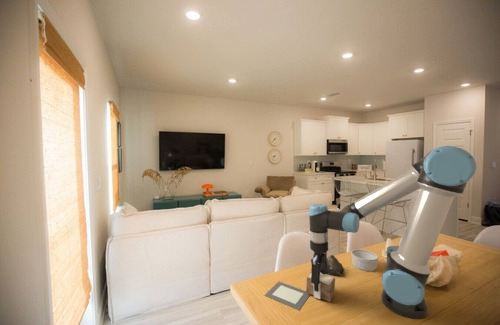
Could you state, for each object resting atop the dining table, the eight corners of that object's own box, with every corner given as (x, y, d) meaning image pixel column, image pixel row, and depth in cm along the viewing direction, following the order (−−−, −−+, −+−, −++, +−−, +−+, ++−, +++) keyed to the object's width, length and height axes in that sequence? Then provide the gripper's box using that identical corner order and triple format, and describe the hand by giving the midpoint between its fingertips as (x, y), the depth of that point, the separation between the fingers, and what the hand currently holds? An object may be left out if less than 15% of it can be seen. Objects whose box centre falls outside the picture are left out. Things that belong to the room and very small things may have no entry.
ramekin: (380, 265, 121) (380, 253, 121) (375, 275, 111) (375, 262, 111) (355, 258, 130) (355, 247, 129) (347, 267, 120) (347, 254, 120)
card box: (334, 293, 95) (335, 277, 95) (329, 302, 90) (330, 285, 89) (311, 284, 101) (312, 269, 101) (306, 292, 95) (306, 276, 95)
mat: (311, 294, 96) (311, 292, 96) (299, 311, 86) (299, 309, 86) (278, 282, 106) (278, 281, 106) (264, 296, 95) (264, 295, 95)
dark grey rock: (347, 278, 108) (337, 259, 108) (330, 284, 110) (320, 266, 110) (343, 266, 118) (334, 250, 119) (327, 272, 120) (318, 256, 121)
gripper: (318, 232, 105) (319, 279, 106) (301, 246, 89) (303, 302, 89) (334, 235, 101) (335, 284, 101) (320, 250, 85) (321, 309, 85)
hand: (320, 293), depth 95 cm, fingers closed on card box, 7 cm apart
